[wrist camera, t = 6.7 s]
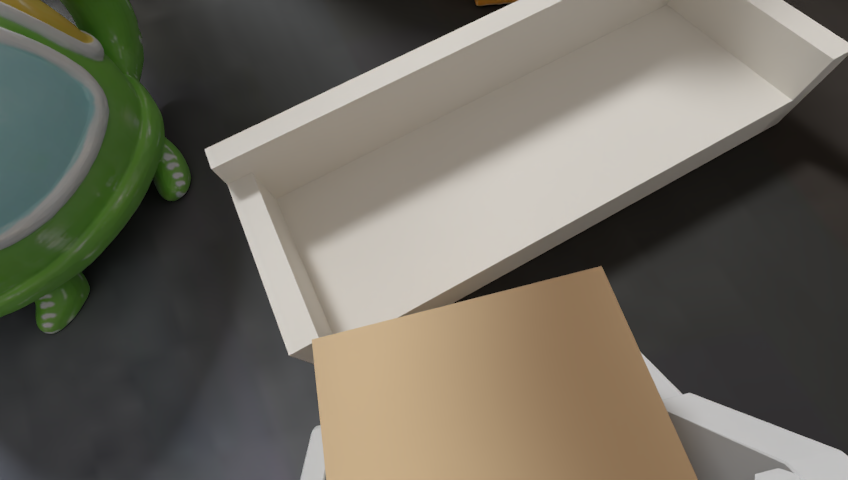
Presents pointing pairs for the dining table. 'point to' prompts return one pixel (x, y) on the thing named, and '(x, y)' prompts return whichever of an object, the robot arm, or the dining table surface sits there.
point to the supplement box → (493, 2)
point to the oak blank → (497, 392)
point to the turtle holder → (72, 148)
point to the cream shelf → (501, 147)
